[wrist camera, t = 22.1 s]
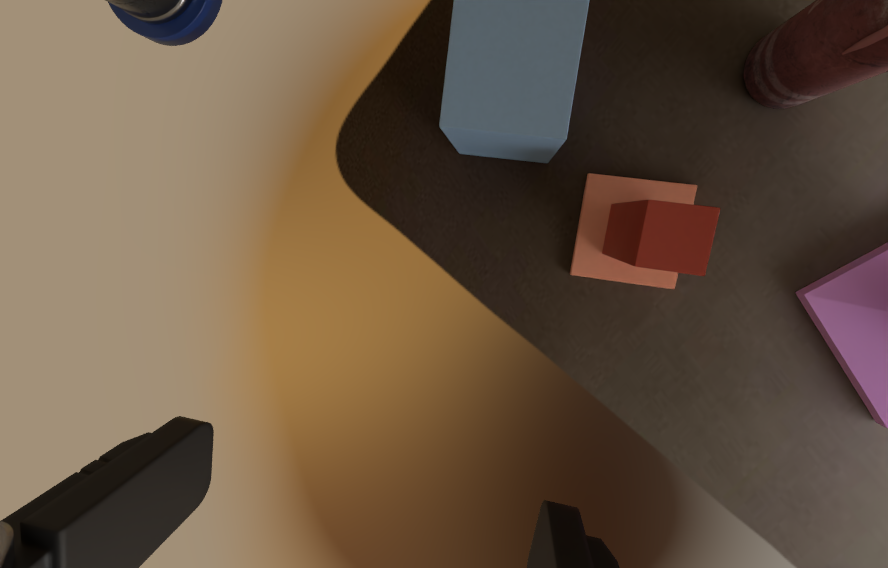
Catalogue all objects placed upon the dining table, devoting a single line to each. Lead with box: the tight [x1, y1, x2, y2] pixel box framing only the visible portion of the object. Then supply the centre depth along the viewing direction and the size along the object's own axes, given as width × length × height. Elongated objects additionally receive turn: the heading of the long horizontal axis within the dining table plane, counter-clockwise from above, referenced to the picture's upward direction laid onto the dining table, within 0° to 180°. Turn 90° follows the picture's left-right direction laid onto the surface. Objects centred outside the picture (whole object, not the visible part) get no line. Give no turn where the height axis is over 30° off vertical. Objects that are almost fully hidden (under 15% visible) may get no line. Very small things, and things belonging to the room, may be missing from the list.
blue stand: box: [439, 0, 589, 163], centre depth 32 cm, size 8×8×12 cm
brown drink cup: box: [744, 0, 888, 109], centre depth 28 cm, size 6×6×14 cm
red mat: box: [570, 173, 697, 289], centre depth 38 cm, size 9×9×1 cm
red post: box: [602, 199, 720, 276], centre depth 33 cm, size 4×4×10 cm
